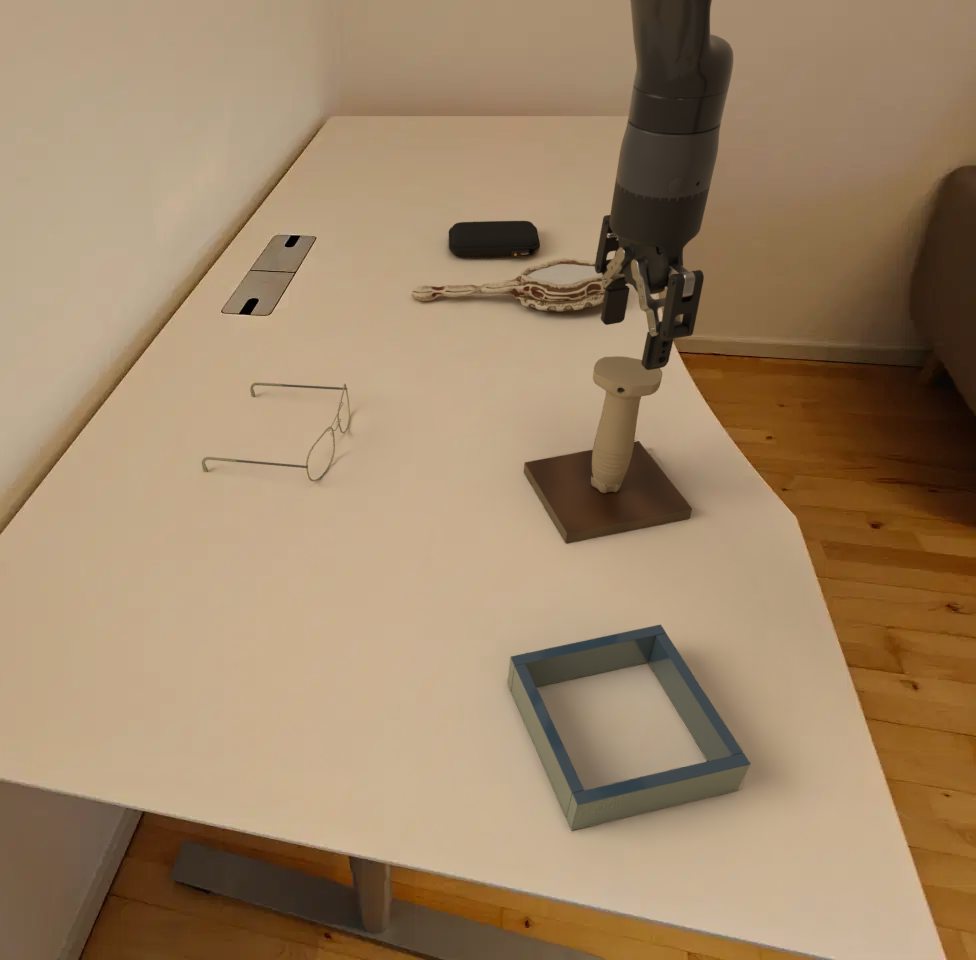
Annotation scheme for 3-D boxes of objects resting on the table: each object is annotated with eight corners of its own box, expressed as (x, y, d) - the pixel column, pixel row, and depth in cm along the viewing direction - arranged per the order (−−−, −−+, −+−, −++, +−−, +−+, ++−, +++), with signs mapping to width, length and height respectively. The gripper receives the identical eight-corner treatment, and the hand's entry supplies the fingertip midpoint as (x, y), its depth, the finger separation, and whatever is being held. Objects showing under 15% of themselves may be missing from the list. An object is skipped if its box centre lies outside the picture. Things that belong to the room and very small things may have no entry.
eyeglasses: (320, 490, 97) (317, 456, 93) (202, 471, 101) (195, 439, 97) (358, 409, 108) (356, 377, 105) (251, 395, 112) (246, 364, 109)
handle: (582, 465, 95) (601, 351, 85) (640, 479, 92) (666, 364, 82) (570, 491, 92) (588, 376, 82) (630, 506, 89) (656, 390, 79)
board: (636, 450, 98) (638, 440, 97) (689, 518, 89) (692, 508, 88) (523, 472, 97) (524, 462, 96) (565, 543, 88) (567, 533, 87)
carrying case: (448, 264, 136) (541, 263, 135) (449, 247, 134) (542, 245, 133) (448, 236, 144) (535, 234, 143) (448, 219, 142) (536, 217, 141)
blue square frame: (652, 651, 77) (660, 624, 74) (738, 790, 66) (751, 764, 64) (507, 683, 75) (510, 656, 73) (571, 830, 65) (577, 805, 62)
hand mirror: (414, 265, 132) (614, 251, 125) (417, 302, 134) (612, 289, 128) (406, 284, 122) (621, 269, 116) (409, 323, 125) (619, 311, 118)
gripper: (754, 202, 65) (707, 376, 75) (663, 142, 76) (633, 302, 86) (663, 216, 64) (629, 391, 75) (584, 153, 75) (564, 314, 85)
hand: (631, 343), depth 80 cm, fingers open, 8 cm apart
